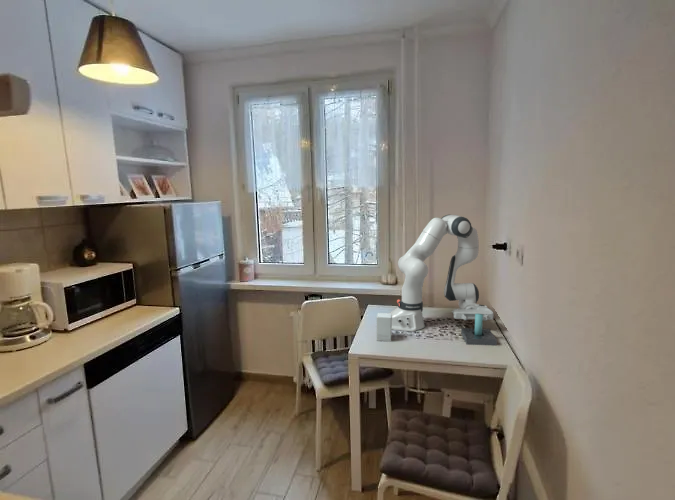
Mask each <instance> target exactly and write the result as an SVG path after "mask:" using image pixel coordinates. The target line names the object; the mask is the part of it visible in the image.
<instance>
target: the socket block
mask: <svg viewBox="0 0 675 500" xmlns="http://www.w3.org/2000/svg"><path fill="white" fill-rule="evenodd" d="M474 333H475V328H471V327H470V328H465V327H464V328H462V327H461V328H460V334H461V336H462V339H463V340H464V343H465V344H466V345H469V346H470V345H471V346H472V345H473V346H476V345H477V346H478V345H479V346H497V343H498V341H497V338H496V337H495V335H494V334H493V332H492V331H491V330H490V328H482V336H477V335H474Z"/></svg>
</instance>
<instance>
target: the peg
mask: <svg viewBox="0 0 675 500" xmlns="http://www.w3.org/2000/svg"><path fill="white" fill-rule="evenodd" d="M483 321H484V320H483V314H479V313H477V314H475V319H474V329H475V333H474V335H477V336H482V329H483Z"/></svg>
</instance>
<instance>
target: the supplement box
mask: <svg viewBox="0 0 675 500" xmlns="http://www.w3.org/2000/svg"><path fill="white" fill-rule="evenodd" d="M392 331H393V330H392V313H390V312H388V313H387V312H377V314H376V342H377V341H378V342H387V343H388V342H389V343H390V342H392Z"/></svg>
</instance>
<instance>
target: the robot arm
mask: <svg viewBox="0 0 675 500" xmlns="http://www.w3.org/2000/svg"><path fill="white" fill-rule="evenodd" d="M447 234H448V235H450V236H455V237H456V239H457V251H456V252H455V254H454V255H453V256H451V259H450V262H449V265H448V271H447V278H446V282H445V286H444V288H443V295H444V298H445V299H446V300H448V302H449V301H450V302H451V301H458V308H455V309H453V310H451V313H452V314H453V319H456V320H464V321H469V320H475V314H477V313H479V314H483V321H484V322H487V321H488V320H489V321H491V320H494V312H493V310H492V309H491V308H488V306H487V305H484V304H479V303H478V301H479V299H480V293H479V289H478V287H477V285H476V284H475V283H474V282H462V283H461V282H460V283H458V282H457V283H456V282H455V280H456V275H457V270H458V269H459V268H460V267H462V266H465V265H466V264H470V263H472V262H473V261H475V260H476V259H477V257H479V251H480V250H479V235H478V230H477V229H476V228H475V227H473V226H472V223H471V221H470V220H469V219H468V218H467V217H464V216H461V215H458V214H446V215H443V216H441V218H440V217H434V218H431V220H430V221H429V222H428V223H427V224H426V225H425V227H424V228H423V230H422V232H421V233H420V235H419V236H418V237H417V239H416V240H415V242H414V244H413V245H412V246H411V247H410V248H409V249H408V251H407V252H405V253H404V254H403V255H402V256H401V257H399V259H398V261H397V267H398V269H399V271H400V272H401V273H402V274H404V282H403V285H402V287H401V299H397V300H396V303H397V307H396V308H394V309H393V310H391V311H390V312H389V313H392V331H393V330H395V331H403V332H404V331H405V332H413V333H414V332H416V331H418V330H422V329H424V328H425V326H426V325H425V323H424V322H425V321H424V317H423V310H424V303H423V287H424V283H425V280H426V279H425V278H426V277H427V276H428V273H429V267H428V265H427V264H426V263H425V262H424V261H425V260H426V259H427V258H429V257H430V256H432V255H434V252H435V251H436V249H437V247H438V246H439V245H440V243H441V241H442V239H443V238H444V236H446V235H447Z"/></svg>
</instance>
